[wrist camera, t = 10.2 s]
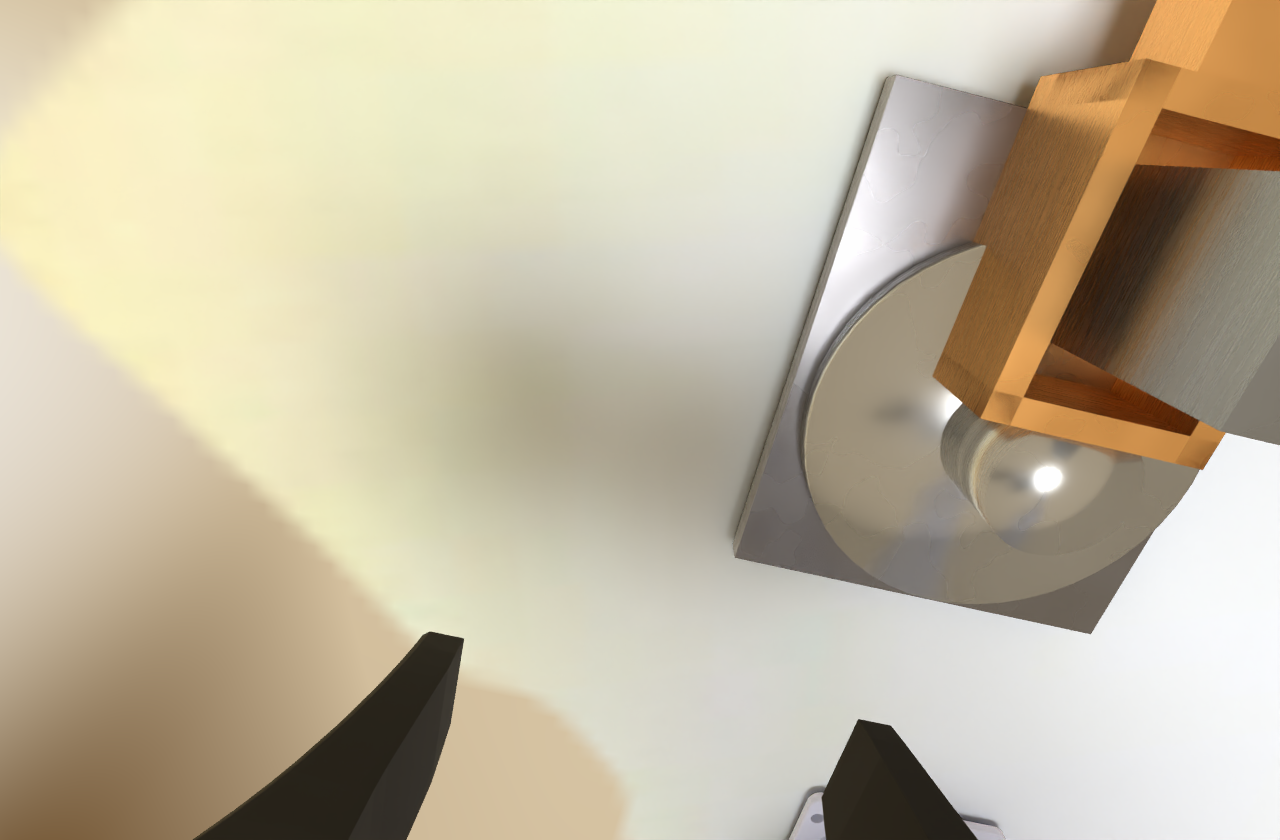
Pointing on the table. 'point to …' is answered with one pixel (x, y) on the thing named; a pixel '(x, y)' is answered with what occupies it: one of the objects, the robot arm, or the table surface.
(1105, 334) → the brushed metal block
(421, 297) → the table surface
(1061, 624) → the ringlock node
